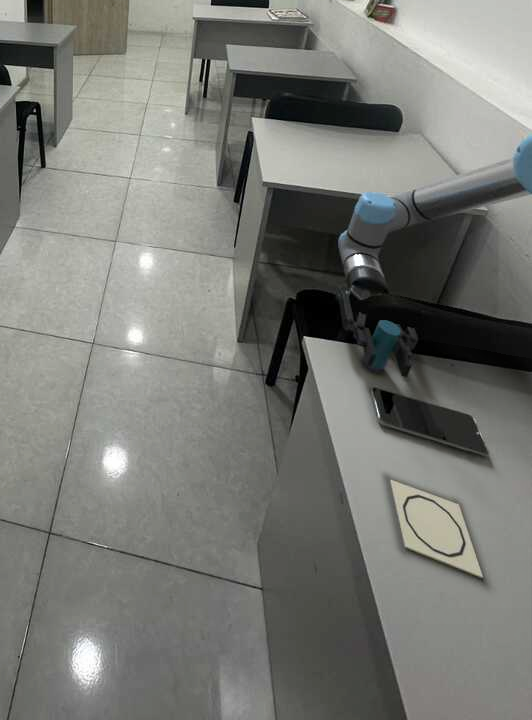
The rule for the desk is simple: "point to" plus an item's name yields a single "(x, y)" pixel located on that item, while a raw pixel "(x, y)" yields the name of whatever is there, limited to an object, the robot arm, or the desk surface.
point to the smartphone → (428, 421)
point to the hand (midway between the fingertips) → (388, 365)
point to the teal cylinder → (383, 343)
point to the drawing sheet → (434, 528)
